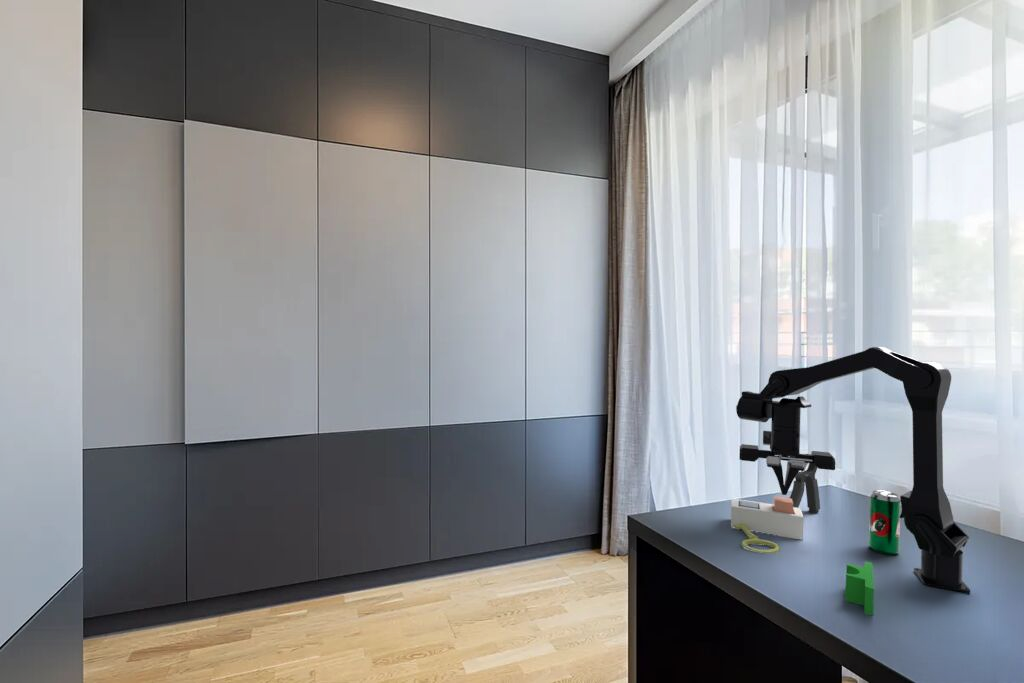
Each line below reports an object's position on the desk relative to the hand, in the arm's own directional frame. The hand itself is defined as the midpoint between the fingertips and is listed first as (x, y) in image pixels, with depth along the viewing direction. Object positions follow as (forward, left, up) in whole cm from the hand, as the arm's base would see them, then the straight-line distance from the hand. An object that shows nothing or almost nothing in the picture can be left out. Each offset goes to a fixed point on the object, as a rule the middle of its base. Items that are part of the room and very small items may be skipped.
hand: (784, 494), depth 114 cm
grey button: (0, +7, -8) cm, 11 cm away
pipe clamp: (-27, -10, -9) cm, 30 cm away
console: (0, +4, -9) cm, 9 cm away
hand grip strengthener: (+15, -5, -9) cm, 18 cm away
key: (-9, +6, -9) cm, 15 cm away
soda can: (-1, -18, -9) cm, 20 cm away
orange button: (0, 0, -6) cm, 6 cm away
